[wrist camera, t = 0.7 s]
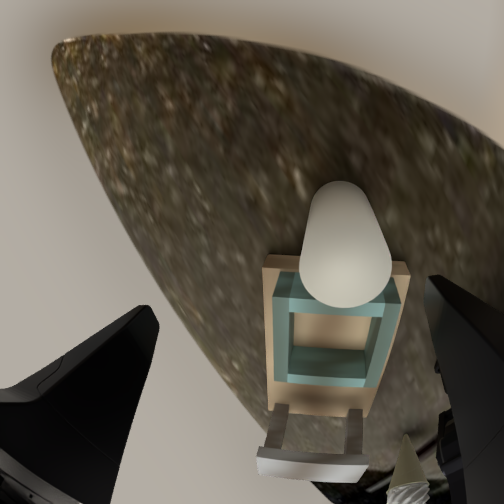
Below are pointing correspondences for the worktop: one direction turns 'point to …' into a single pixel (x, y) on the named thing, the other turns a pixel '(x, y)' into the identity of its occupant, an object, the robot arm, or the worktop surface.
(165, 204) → the worktop surface
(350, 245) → the peg
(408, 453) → the ice cream cone
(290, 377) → the socket board
